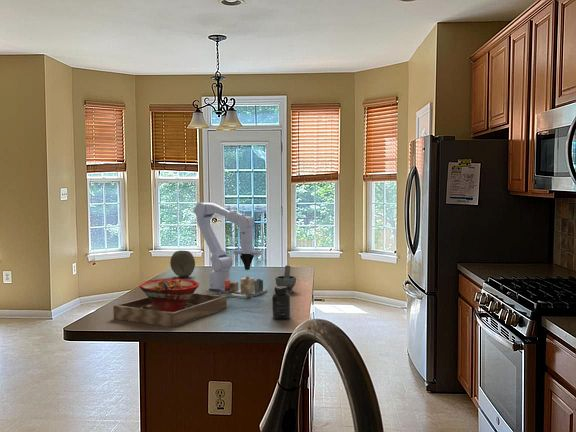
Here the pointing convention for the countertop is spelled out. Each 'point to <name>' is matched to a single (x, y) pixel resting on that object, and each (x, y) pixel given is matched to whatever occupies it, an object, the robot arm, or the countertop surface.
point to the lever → (227, 287)
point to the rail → (237, 295)
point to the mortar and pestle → (286, 279)
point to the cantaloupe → (182, 263)
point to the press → (257, 290)
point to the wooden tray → (202, 307)
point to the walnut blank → (234, 286)
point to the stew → (168, 293)
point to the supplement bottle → (281, 303)
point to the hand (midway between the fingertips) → (247, 269)
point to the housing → (247, 284)
